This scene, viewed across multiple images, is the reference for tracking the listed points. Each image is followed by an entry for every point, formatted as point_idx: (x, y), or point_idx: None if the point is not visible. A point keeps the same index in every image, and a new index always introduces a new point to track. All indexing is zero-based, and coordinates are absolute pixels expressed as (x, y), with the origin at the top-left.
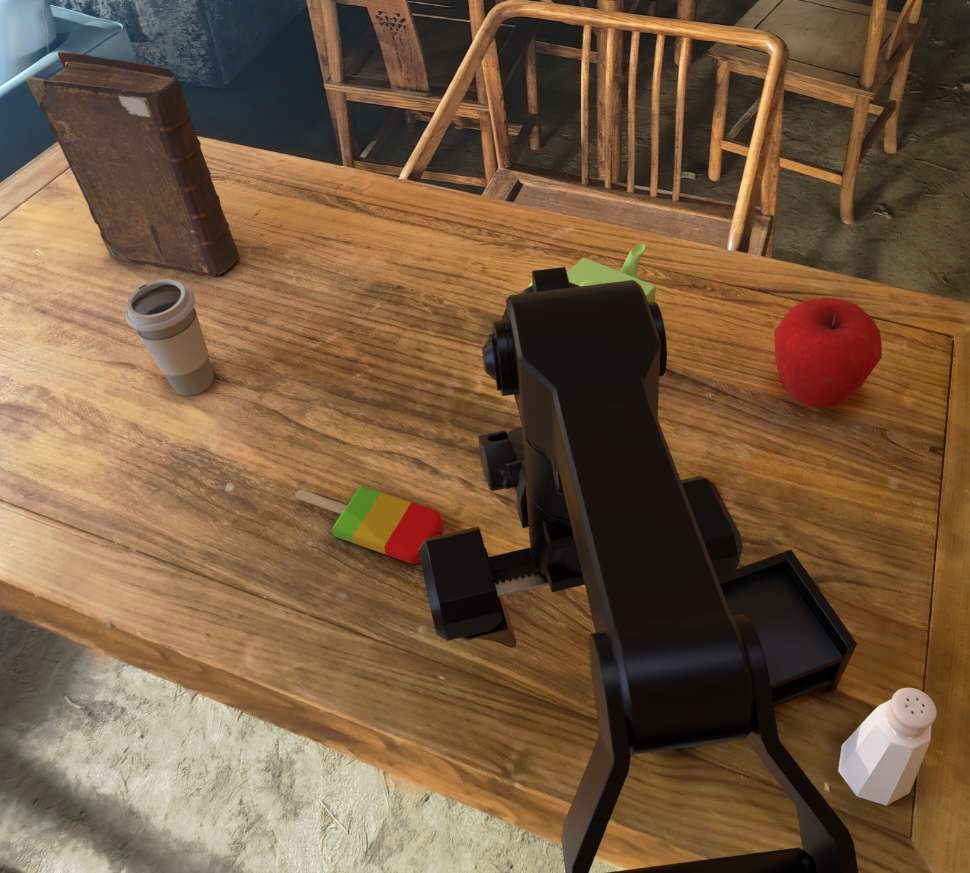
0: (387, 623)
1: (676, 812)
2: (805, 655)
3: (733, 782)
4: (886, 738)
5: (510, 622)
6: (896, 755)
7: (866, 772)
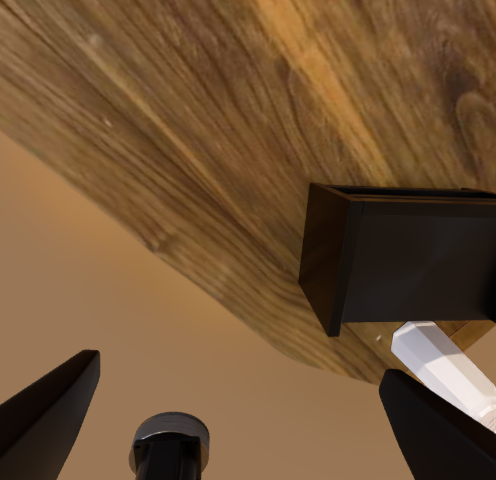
0: (46, 5)
1: (271, 321)
2: (464, 307)
3: None
4: None
5: (45, 452)
6: None
7: (415, 371)
